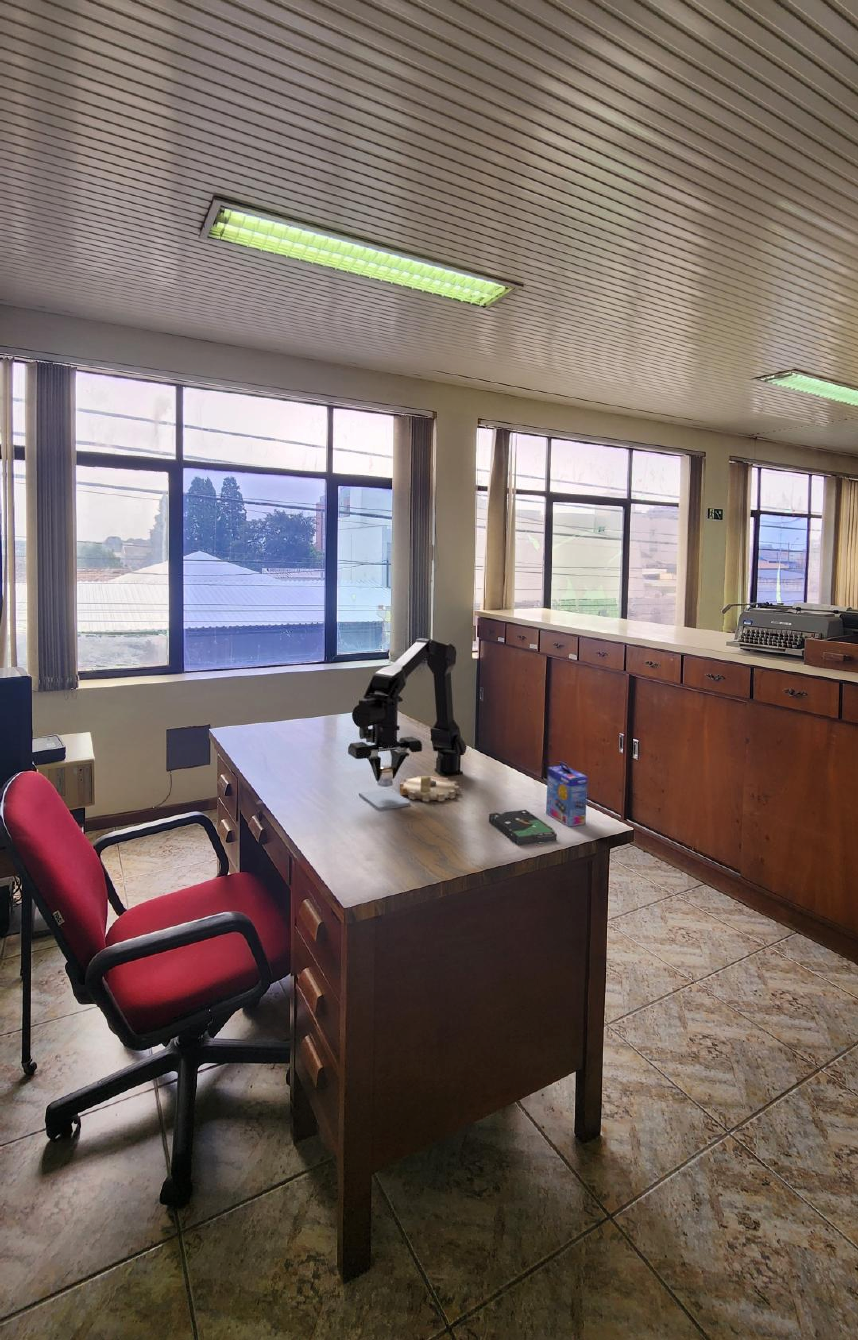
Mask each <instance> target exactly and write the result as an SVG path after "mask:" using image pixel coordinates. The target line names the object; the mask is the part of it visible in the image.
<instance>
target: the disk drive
mask: <svg viewBox="0 0 858 1340" xmlns="http://www.w3.org/2000/svg"><path fill="white" fill-rule="evenodd" d="M488 823H489V824H490V825H491V826H492V827H494V828H496V829H497V831H499V832H500V833H501V834H502V835H503V836H505V837H506V838H507V839H509V840H510V841H511V842H512V843H513V844H514V845H516V846H518V847H519V846H527V845H534V844H535V843H536V844H540V843H539V842H544V843H550V842H549V841H551V842H557V839H558V838H557V837H558V835H557V833H556V831H555V830H554V828H552V826H550V825H548V824H547V823H545V822H544V821H543V820H541V819H539V818H538V817H537V816H536V815H534V814H533V813H531V811H528V810H527V809H520V810H510V811H504V812H502V814H501V813H498V812H494V813H493V812H492V813H489V815H488Z"/></svg>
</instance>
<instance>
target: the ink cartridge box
mask: <svg viewBox="0 0 858 1340" xmlns="http://www.w3.org/2000/svg"><path fill="white" fill-rule="evenodd" d="M558 763H559V765H557V766H549V767H548V768H547V782H546V784H547V786H546V806H545V808H546V809H545V813H546V815H549V816H550V817H552V818H553V819H555V820H556V821H558V822H559V823H561V824H563V825H564V826H566V827H574V826H581V825H586V818H587V817H586V816H587V798H588V795H587V794H588V776H587V775H585V774H583V773H581V772H579V771H576V770H574V769H573V768H571V767H570V766H569V765H568V764H566V763H564V762H562V761H558Z"/></svg>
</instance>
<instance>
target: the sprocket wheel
mask: <svg viewBox="0 0 858 1340" xmlns="http://www.w3.org/2000/svg"><path fill="white" fill-rule="evenodd" d="M399 791H400V794H401V796H408V798H409V799H411V800H416V799H418V800H422V801H423V802H430V801H438V802H444V801H445V799H454V798H456V795H459V793H460V785H458V782H457V781H455V780H453V781H452V780H449V778H447V777H436V775H429V776H428V775H423V776H422V775H416V776H415V777H413V778H409V777H407V778H404V781H400V783H399Z"/></svg>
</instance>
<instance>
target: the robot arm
mask: <svg viewBox="0 0 858 1340" xmlns="http://www.w3.org/2000/svg"><path fill="white" fill-rule="evenodd" d="M456 649H457V648H456V647H455V646H454V644H452V643H445V642H438V641H436V640H433V639H432V638H423V637H418V638H416V639H415V640H414V643H413V644H412V645H411V646H410V647H409V648H408V649H407V650H406V651H405V652H404V653H403V654H402V655H401V656H400V657H398V658H397V660H396V661H394V663H392V664H391V665H388V666H385V667H381V669H379V670H378V671H376V672H374V674H373V675H372V677H371V680H370V682H369V684H368V686H367V688H366V691H365V693H364V695H363V699H362V698H361V699H359V700H358V704H357V705H356V706H355V707H354V708H353V709H352V713H351V717H352V721H353V723H354V725H356V726H357V727H358V728H359V731H358V733H359V734H358V735H359V739H360V740H365V741H366V742H364V741H358V742H352V743H349V746H348V747H347V754H348V755H350V756H351V757H352V758H354V759H355V760H362V759H363V760H364V759H367V760H368V762H369V764H370V766H371V769H372V773H373V776H374V778H375V781H379V778H380V766H382V763H381V762H382V760H381V759H382V758H381V757H380V756H379V752H387V751H388V752H390V757H391V761H390V762H391V763H390V764H391V765H390V766H392V767H393V780H394V779H395V778H396V775H397V774H398V771H399V770H400V768H401V766H402V765H403V763H404V761H405V760H406V758H407V757H409V756H410V753H409V752H408V750H409V751H410V752H411V753H418V752H419V753H420V752H423V744H422V741H421V740H420V739H418V738H416V737H414V736H404V737H400V738H399V741H398V731H400V729H401V727H400V725H398V716H399V715H398V714H399V713H398V712H399V709H398V708H399V703H401V702H403V701H404V699H403V697H401V696H400V694H401V692H402V691H404V690H403V689H404V688H405V687H406V685H407V678H408V677H409V676H410V675H411V674H412V673H413V672H414V670H415V669H417V667H419V666H420V664H421V663H422V662H423V661H424V660H426V665H427V667H428V669H429V670H430V671H431V673H432V675H433V684H434V685H433V686H434V687H433V688H434V689H433V690H434V701H435V702H434V703H435V717H436V721H435V724H434V725H433V727H430V730H429V732H430V741H431V744H432V745H431V746H432V751H433V752H437V757H436V759H435V768H434V772H437V773H438V774H441V775H442V776H444V777H449V776H454V775H463V774H464V771H462V770H461V761H462V760H461V758H462V756H464V755H465V754H466V752H467V744H466V743H465V742H464V740H463V738H462V736H461V729H460V727H459V725H458V724H457V722H456V721H455V719H454V705H453V703H454V702H453V691H452V690H453V688H452V671H453V669H454V667H455V666H456V662H457V661H456V660H457V650H456ZM369 727H372V728H369ZM367 743H371V744H369V745H368V744H367Z"/></svg>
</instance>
